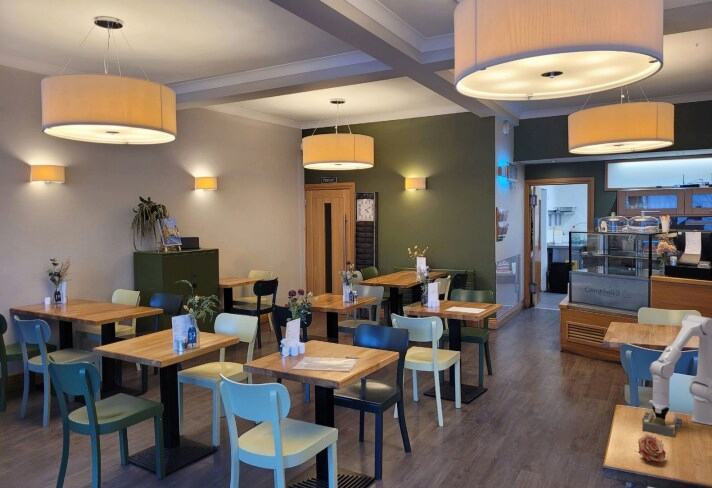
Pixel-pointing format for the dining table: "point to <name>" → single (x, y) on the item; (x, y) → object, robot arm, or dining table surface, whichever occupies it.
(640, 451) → the flower
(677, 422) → the grey u-shaped block
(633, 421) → the dining table surface
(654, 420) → the lime
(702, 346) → the robot arm
